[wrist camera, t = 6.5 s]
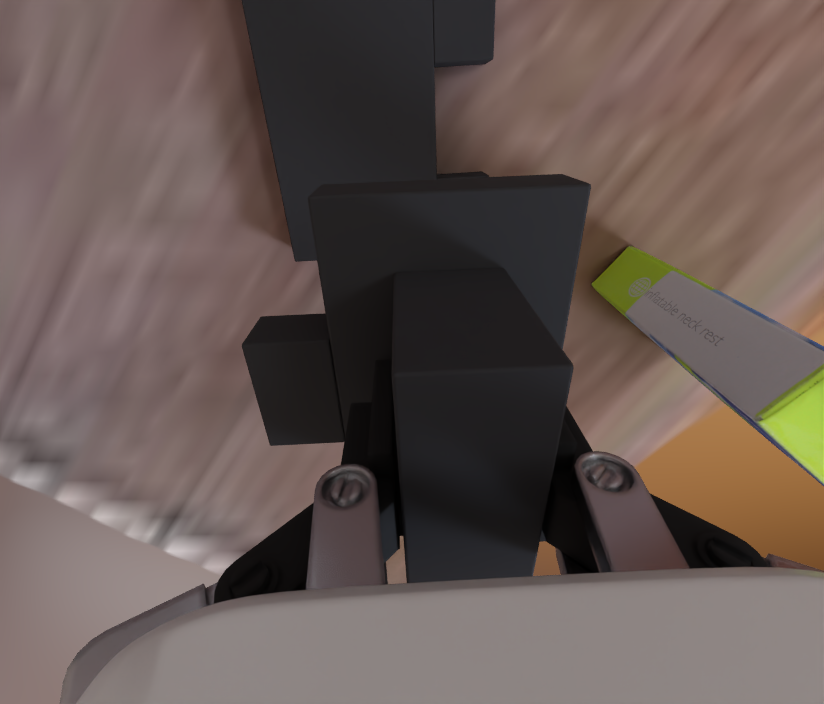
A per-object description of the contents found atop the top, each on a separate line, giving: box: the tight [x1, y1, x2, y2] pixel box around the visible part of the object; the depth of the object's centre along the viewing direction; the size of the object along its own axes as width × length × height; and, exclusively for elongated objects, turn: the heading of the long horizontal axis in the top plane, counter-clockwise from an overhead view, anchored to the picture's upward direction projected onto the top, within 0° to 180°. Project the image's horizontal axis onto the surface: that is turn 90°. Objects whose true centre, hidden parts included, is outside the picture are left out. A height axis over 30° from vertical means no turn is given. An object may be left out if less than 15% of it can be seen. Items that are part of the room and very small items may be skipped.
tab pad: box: [242, 174, 591, 583], centre depth 12 cm, size 12×10×7 cm
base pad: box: [242, 0, 495, 262], centre depth 23 cm, size 14×12×2 cm
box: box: [591, 246, 824, 486], centre depth 22 cm, size 10×4×17 cm, turn 53°
